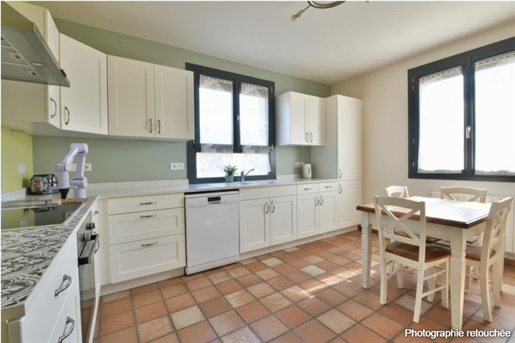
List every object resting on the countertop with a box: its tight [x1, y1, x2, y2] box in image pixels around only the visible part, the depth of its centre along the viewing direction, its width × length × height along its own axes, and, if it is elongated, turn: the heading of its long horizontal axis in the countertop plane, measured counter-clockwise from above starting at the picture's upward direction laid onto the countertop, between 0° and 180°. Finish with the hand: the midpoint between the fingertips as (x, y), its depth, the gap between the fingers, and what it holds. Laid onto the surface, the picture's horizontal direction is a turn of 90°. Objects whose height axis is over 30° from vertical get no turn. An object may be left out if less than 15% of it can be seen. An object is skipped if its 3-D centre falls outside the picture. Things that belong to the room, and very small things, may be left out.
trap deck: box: [44, 197, 89, 207], centre depth 165 cm, size 16×20×4 cm
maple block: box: [50, 194, 63, 202], centre depth 162 cm, size 5×5×4 cm
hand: (64, 199), depth 164 cm, fingers closed
